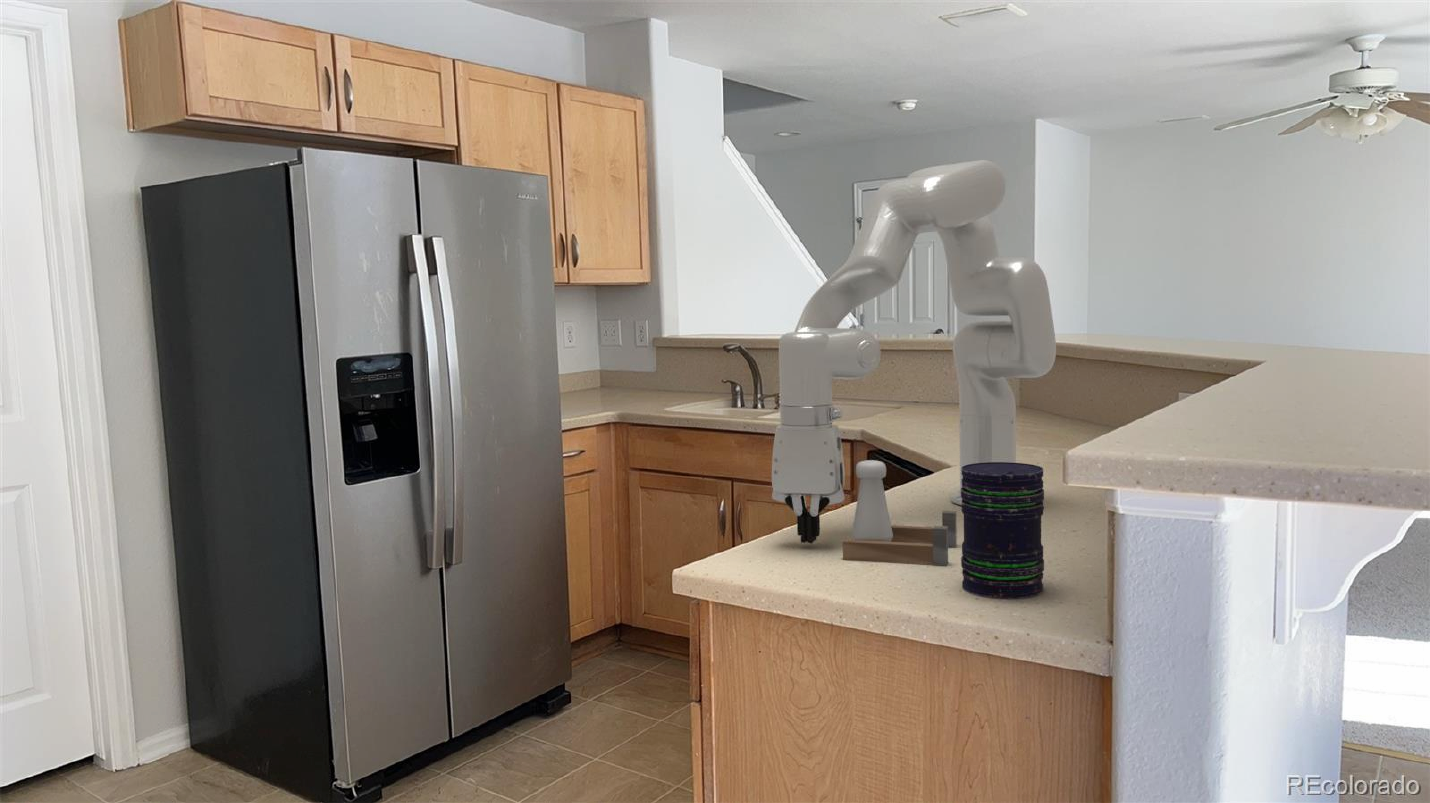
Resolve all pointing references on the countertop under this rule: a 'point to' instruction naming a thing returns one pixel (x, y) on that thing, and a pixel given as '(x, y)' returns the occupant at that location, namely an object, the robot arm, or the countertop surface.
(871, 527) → the salt shaker
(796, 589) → the countertop surface
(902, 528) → the chute
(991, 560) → the dark blue cylinder
